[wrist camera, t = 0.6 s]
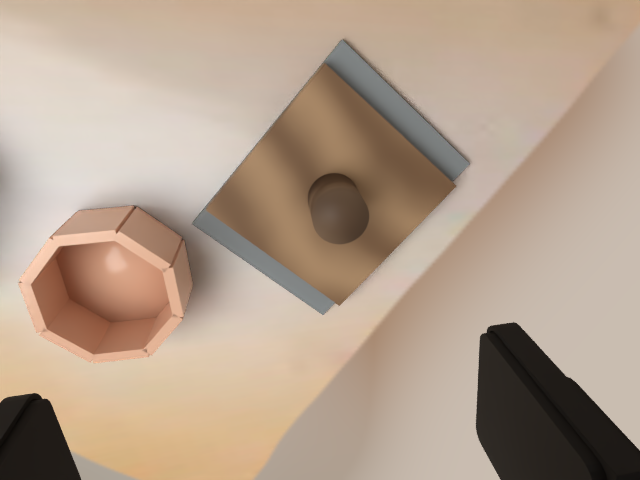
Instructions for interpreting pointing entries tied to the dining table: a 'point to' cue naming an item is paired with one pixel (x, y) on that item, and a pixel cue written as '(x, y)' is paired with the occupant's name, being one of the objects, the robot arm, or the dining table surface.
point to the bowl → (109, 284)
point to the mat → (393, 112)
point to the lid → (330, 188)
